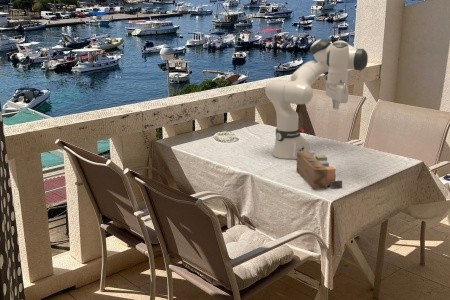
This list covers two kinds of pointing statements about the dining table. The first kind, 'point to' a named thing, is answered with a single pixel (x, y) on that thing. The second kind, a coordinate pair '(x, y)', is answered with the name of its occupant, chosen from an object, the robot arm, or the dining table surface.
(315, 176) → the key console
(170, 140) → the dining table surface
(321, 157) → the olive key
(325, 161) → the slate key
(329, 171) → the terracotta key
